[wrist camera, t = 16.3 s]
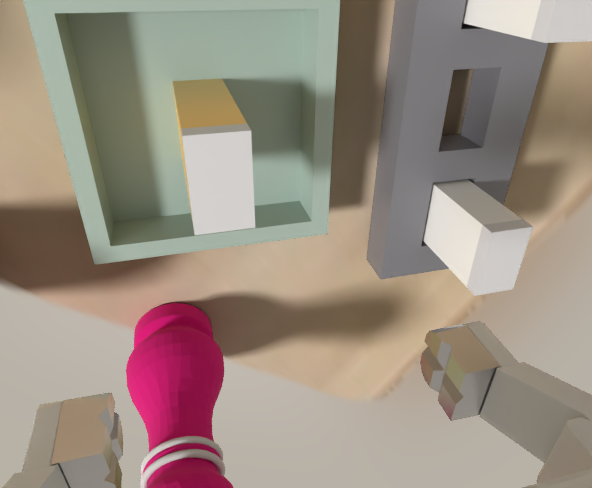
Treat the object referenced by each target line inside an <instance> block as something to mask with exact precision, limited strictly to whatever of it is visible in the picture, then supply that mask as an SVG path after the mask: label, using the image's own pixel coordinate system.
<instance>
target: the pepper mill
mask: <svg viewBox="0 0 592 488" xmlns="http://www.w3.org/2000/svg"><path fill="white" fill-rule="evenodd" d="M126 373H127V387H128V390H129V393H130V396H131V398H132V401H133V403H134V405H135V406H136V408H137V410H138V412H139V414H140V415H141V417H142V419H143V421H144V423H145V426H146V429H147V432H148V437H149V453H148V454H147V455H146V457H145V458H144V459H143V462H142V464H141V475H142V477H141V484H140V486H141V488H233V486H232V484H231V483H230V482H229V481H228V480H227V479H226V478H225V477H224V474H225V466H224V463H223V453H222V450H221V448H220V447H219V445H217V444H216V443H215V442H214V440H213V436H212V414H213V408H214V405H215V402H216V400H217V398H218V395H219V392H220V390H221V387H222V382H223V377H224V362H223V355H222V352H221V350H220V348H219V346H218V345H217V343H216V342H215V341H214V340H213V333H212V327H211V323H210V320H209V318H208V317H207V315H206V314H205V313H204V312H203V311H202V310H200V309H198V308H196V307H194V306H192V305H188V304H183V303H171V304H165V305H161V306H158V307H156V308H154V309H152V310H150V311H149V312H148V313H146V314H145V315H144V316H143V317H142V318H141V319H140V320H139V322H138V324H137V326H136V328H135V335H134V350H133V352H132V354H131V356H130V357H129V360H128V364H127V369H126Z"/></svg>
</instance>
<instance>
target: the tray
mask: <svg viewBox="0 0 592 488" xmlns="http://www.w3.org/2000/svg"><path fill="white" fill-rule="evenodd" d="M23 2H24V6H25V9H26V13H27V17H28V21H29V24H30V28H31V32H32V35H33V39H34V43H35V46H36V50H37V54H38V58H39V61H40V65H41V69H42V72H43V76H44V80H45V83H46V87H47V91H48V95H49V98H50V102H51V106H52V109H53V113H54V117H55V120H56V124H57V128H58V132H59V135H60V139H61V143H62V146H63V150H64V154H65V157H66V161H67V165H68V168H69V172H70V176H71V180H72V183H73V187H74V191H75V194H76V198H77V202H78V205H79V209H80V213H81V217H82V220H83V224H84V228H85V231H86V235H87V239H88V242H89V246H90V250H91V254H92V257H93V261H94V265H97V264H104V263H112V262H120V261H127V260H135V259H142V258H150V257H157V256H165V255H172V254H180V253H187V252H195V251H203V250H210V249H218V248H225V247H233V246H240V245H248V244H255V243H263V242H271V241H278V240H286V239H293V238H301V237H308V236H316V235H323V234H328V215H329V197H330V179H331V160H332V142H333V123H334V105H335V86H336V68H337V49H338V31H339V12H340V0H23ZM205 79H222V80H223V81H224V83H225V85H226V87H227V89H228V90H229V92H230V94H231V96H232V97H233V99H234V101H235V103H236V105H237V106H238V108H239V110H240V112H241V113H242V115H243V117H244V119H245V121H246V122H247V124H248V126H249V128H250V129H251V139H252V162H253V185H254V207H255V228H249V229H241V230H233V231H225V232H218V233H210V234H202V235H195V234H194V228H193V222H192V216H191V209H190V203H189V197H188V191H187V185H186V179H185V173H184V166H183V160H182V153H181V145H180V137H179V130H178V122H177V114H176V107H175V99H174V91H173V83H172V81H186V80H205Z"/></svg>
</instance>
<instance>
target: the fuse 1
mask: <svg viewBox="0 0 592 488" xmlns="http://www.w3.org/2000/svg"><path fill="white" fill-rule="evenodd" d="M462 23H464V24H469V25H473V26H477V27H481V28H485V29H489V30H493V31H497V32H502V33H506V34H510V35H514V36H518V37H522V38H526V39H530V40H534V41H539V42H543V43H555V42H579V41H592V0H466V4H465V10H464V15H463V21H462Z"/></svg>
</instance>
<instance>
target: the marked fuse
mask: <svg viewBox="0 0 592 488" xmlns="http://www.w3.org/2000/svg"><path fill="white" fill-rule="evenodd" d="M172 83H173V91H174V99H175V107H176V114H177V122H178V130H179V137H180V145H181V153H182V160H183V166H184V173H185V179H186V185H187V191H188V197H189V203H190V209H191V216H192V222H193V228H194V234H195V235H202V234H210V233H218V232H225V231H233V230H241V229H249V228H255V207H254V185H253V162H252V139H251V129H250V128H249V126H248V124H247V122H246V121H245V119H244V117H243V115H242V113H241V112H240V110H239V108H238V106H237V105H236V103H235V101H234V99H233V97H232V96H231V94H230V92H229V90H228V89H227V87H226V85H225V83H224V81H223V80H222V79H205V80H186V81H172Z"/></svg>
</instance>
